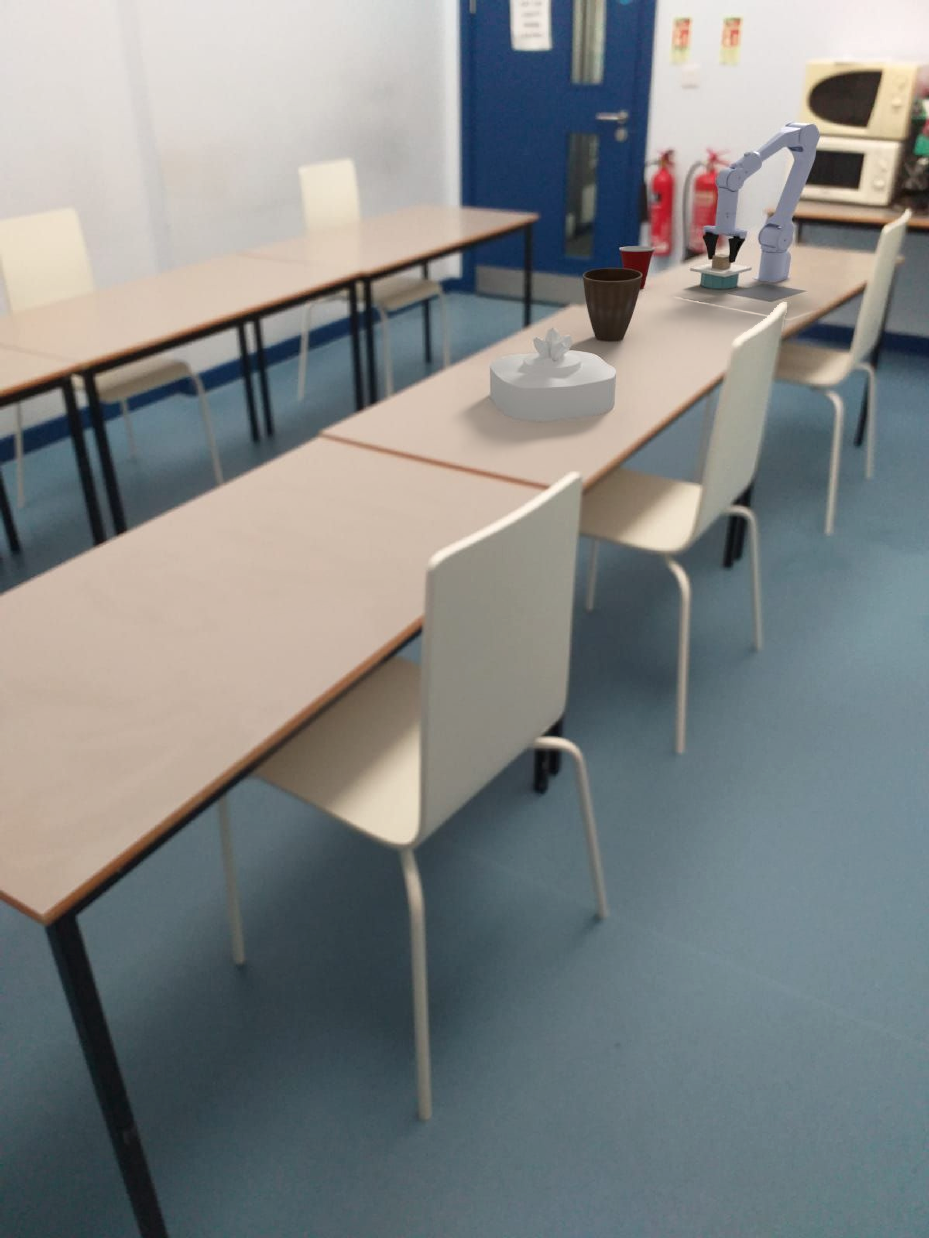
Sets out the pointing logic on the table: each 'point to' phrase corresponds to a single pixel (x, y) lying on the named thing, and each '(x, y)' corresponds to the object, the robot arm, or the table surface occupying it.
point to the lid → (721, 267)
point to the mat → (767, 292)
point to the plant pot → (611, 300)
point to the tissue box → (552, 382)
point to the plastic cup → (637, 259)
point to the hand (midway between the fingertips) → (721, 260)
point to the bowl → (719, 281)
